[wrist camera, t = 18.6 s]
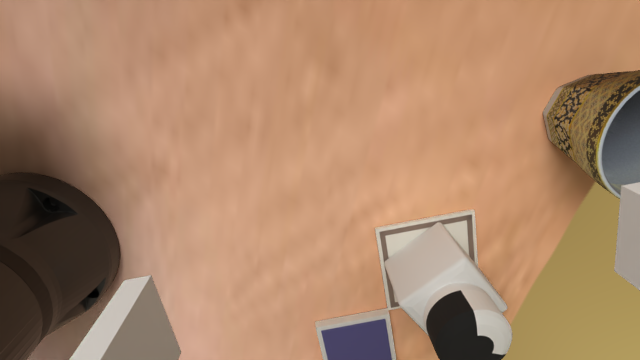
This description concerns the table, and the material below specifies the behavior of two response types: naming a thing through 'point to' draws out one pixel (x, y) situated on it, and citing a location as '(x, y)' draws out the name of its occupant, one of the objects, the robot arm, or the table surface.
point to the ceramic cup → (599, 126)
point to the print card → (406, 232)
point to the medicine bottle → (449, 297)
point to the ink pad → (357, 337)
